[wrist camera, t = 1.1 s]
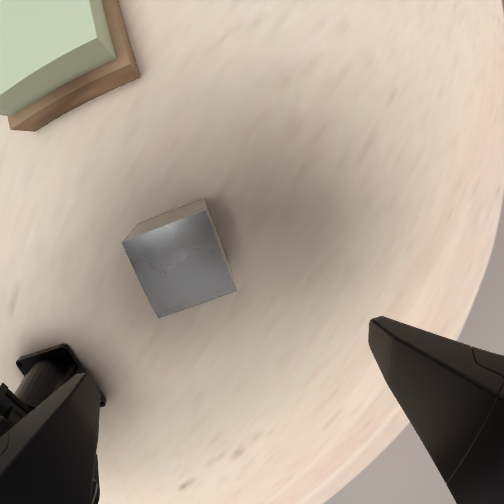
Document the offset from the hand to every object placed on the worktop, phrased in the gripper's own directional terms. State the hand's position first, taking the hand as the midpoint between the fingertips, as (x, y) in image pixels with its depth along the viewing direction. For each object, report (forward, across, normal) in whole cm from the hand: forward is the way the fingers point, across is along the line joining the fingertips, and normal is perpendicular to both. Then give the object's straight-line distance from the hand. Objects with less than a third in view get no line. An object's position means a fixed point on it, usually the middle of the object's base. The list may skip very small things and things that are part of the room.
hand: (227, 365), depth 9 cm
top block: (+9, +7, -15) cm, 19 cm away
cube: (+12, +2, 0) cm, 12 cm away
